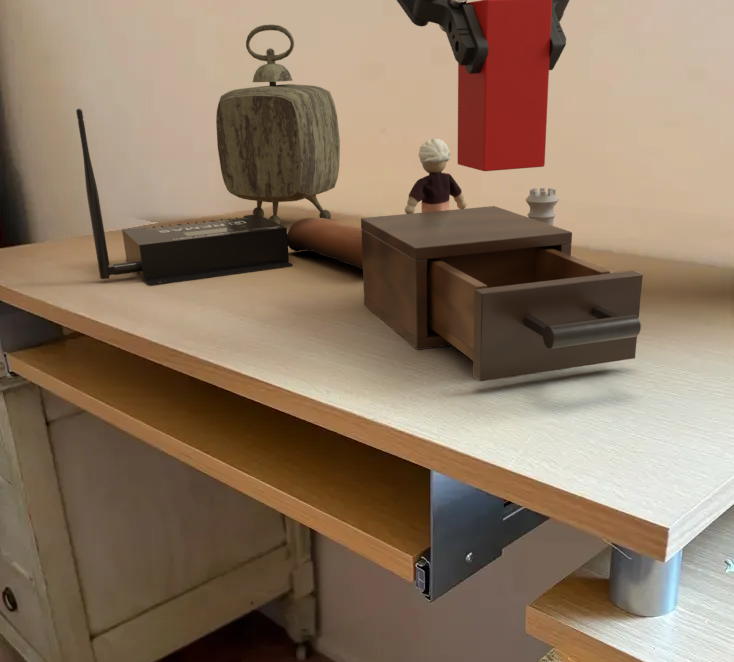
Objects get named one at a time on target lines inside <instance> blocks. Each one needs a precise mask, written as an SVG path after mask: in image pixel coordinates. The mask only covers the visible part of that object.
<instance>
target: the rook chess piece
mask: <svg viewBox="0 0 734 662" xmlns="http://www.w3.org/2000/svg"><path fill="white" fill-rule="evenodd" d="M559 201H560V200H559V197H558V196H557V195H556V189H555V188H551V187H548V188H547V191H546V187H540V188H539V191H538V188H531V189H529V194H528V195H527V197H526V198H525V202H526V204H527V205H528V207H529V212H528V213H527V214H526V215H527V216H526V217H528V218H531V219H534V220H537V221H540V222H543V223H546V224H549V225H552V226H554V219H555V217H556V216H557V215H556V212H555V211H554V209H555V207H556V205H557V203H558V202H559Z"/></svg>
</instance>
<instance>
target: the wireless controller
mask: <svg viewBox="0 0 734 662" xmlns="http://www.w3.org/2000/svg"><path fill="white" fill-rule="evenodd" d="M75 111H76V118H77V125H78V130H79V137H80V143H81V151H82V158H83V167H84V168H83V169H84V179H85V190H86V198H87V204H88V210H89V216H90V222H91V229H92V236H93V240H94V241H93V242H94V247H95V254H96V259H97V260H96V261H97V265H98V272H99V278H100V279H101V280H108V279H109V278H110V276H118V275H126V274H135V273H136V274H137V275H138V276H139V277H140V279H142V281H143V282H145V284H146V285H148V286H156V285H163V284H170V283H179V282H186V281H193V280H200V279H201V280H202V279H207V278H214V277H221V276H230V275H236V274H244V273H252V272H257V271H259V272H260V271H266V270H273V269H281V268H287V267H289V268H290V267H293V266H294V264H293V263H291V262H290V254H289V246H288V238H287V234H288V228H287V227H286V226H284V225H282V224H281V223H280V224H278V223H276V222H273V221H271V220H269V218H267V217H264V216H263V217H262V216H260V215H258V214H255V215H253V214H248V215H243V217H241V218H239V217H235V218H232V219H231V218H227V219H222V218H221V219H220V220H215V219H213V220H212V219H211V220H210V221H205V220H203V221H202V222H197V221H195V222H194V223H189V222H187V223H186V224H181V223H177V224H176V225H171V224H168V226H163V225H161V226H160V227H155V226H152V228H147V227H145V226H138V227H137V226H136V227H130V228H128V227H127V228H122V229H121V232H122V237H123V238H122V239H123V245H124V252H125V253H124V254H125V262H121V263H113V264H110V260H109V253H108V246H107V240H106V234H105V233H106V232H105V227H104V222H103V221H104V220H103V215H102V209H101V201H100V197H99V190H98V185H97V181H96V177H95V174H94V169H93V165H92V161H91V155H90V150H89V145H88V138H87V133H86V126H85V120H84V114H83V110H82V109H81V108H77V109H76V110H75Z"/></svg>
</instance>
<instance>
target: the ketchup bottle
mask: <svg viewBox="0 0 734 662" xmlns="http://www.w3.org/2000/svg"><path fill="white" fill-rule="evenodd" d="M469 4H473V7H474V9H475V12H476V15H477V17H478V20H479V23H480V25H481V28H482V31H483V33H484V36H485V38H486V40H487V43H488V55H487V58H486V60H485V62H484V65H483V67H482V70H481V72H480V73H475V74H468V73H467V71H466V68H465V65H460V64H459V63H458V62H457V165H459V166H463V167H467V168H470V169H475V170H478V171H482V172H493V171H494V172H495V171H508V170H520V169H531V168H533V169H534V168H543V167H545V166H546V165H545V164H546V145H547V144H546V143H547V142H546V140H547V121H548V103H549V102H548V101H549V99H548V98H549V79H550V77H549V75H550V70H549V59H550V37H551V16H552V0H476V1H475V0H474V1H469V2H468V1H467V2H466V5H469Z"/></svg>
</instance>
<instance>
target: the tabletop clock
mask: <svg viewBox="0 0 734 662" xmlns="http://www.w3.org/2000/svg"><path fill="white" fill-rule="evenodd" d="M266 31H278V32H280V33H282V34H284V35H285V36H286V37H287V38H288V39H289V42H290V44H289V48H288V49H287V50H286V51H284V52H282V53H279V54H275V50H274V49H273V48H267V49H266V51H265V52H266V54H265V55H262V54H259V53H257V52H255V51H253V50H252V49H251V47H250V46H251V45H250V42H251V40H252V39H253V38H254V36H255V35H257V34H258V33H260V32H266ZM294 47H295V40H294V37H293V35H292V33H291V32H290V31H289V30H288V29H287V28H286V27H284V26H282V25H278V24H263V25H260V26H256V27H254V28H253V29H252V30H250V32H249V34H248V35H247V37H246V41H245V48H246V50H247V52H248V54H249V55H250V56H251V57H252V58H254V59H256V60H258V61H262V62H266V63H265V64H262V65H260V66H259V67H258V68H257V69H256V70H255V72H254V73H253V77H252V79H253V80H252V83H269V85H262V86H261V85H260V86H253V87H252V86H251V87H243V88H237V89H232V90H230V91H227V92H226V93H223V94H221V96H220V97H219V101H218V104H217V109H216V118H215V119H216V120H215V122H216V124H215V125H216V141H217V142H216V143H217V144H216V145H217V152H218V158H219V166H220V173H221V177H222V181H223V184H224V185H225V188H226V190H227V191H228V192H229V194H231V195H232V196H235V197H237V198H239V199H242V200H247V201H254V202H256V207H254V209H253V210H252V215H255V214H258V215H260V216H262V217H264V216H265V210H264V209H263V208H262V205H263V203H272V215H270V217H269V218H268V219H269V220H271V221H273V222H276V223H278V224H280V225H281V218H280V216H278V209H279V203H286V202H287V203H289V202H297V201H301V200H307V201H309V202H310V203H311V204H313V206H314V207H315V208H316V209H317V210H318V211H319V217H318V218H325V219H332V214H331V211H330V210H328V209H323V207H322V205H321V204H320V202H319V200H318V198H317V195H320V194H322V193H326V192H328V191H330V190H332V189H335V187H336V184H337V182H338V178H339V173H340V160H341V159H340V155H341V152H340V151H341V149H340V148H341V137H340V131H339V130H340V129H339V120H338V113H337V109H336V104H335V101H334V98H333V96H332V93H331V91H330V90H328V89H326V88H323V87H321V86H318V85H311V84H296V83H295V84H294V83H283V84H277V82H292V81H293V78H292V75H291V73H290V71H289V70H288V69H287V67H285V65H282V64H279V63H276V62H277V61H281V60H284V59H285V58H287V57H289V56H290V55H291V54H292V52H293V50H294Z"/></svg>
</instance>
